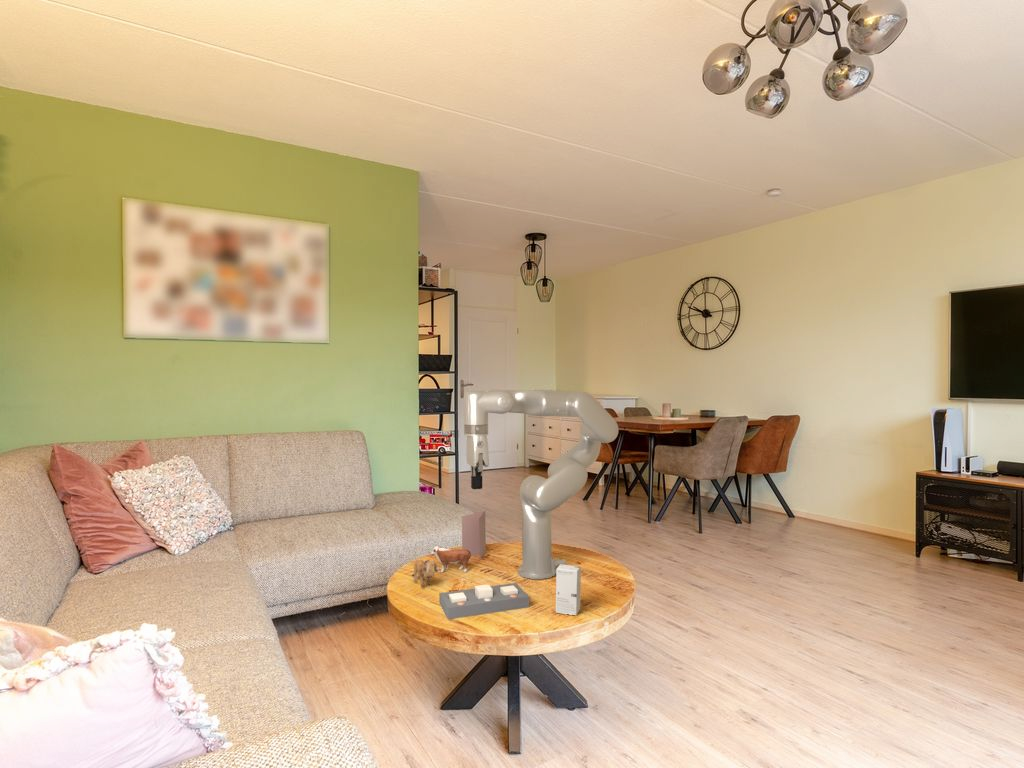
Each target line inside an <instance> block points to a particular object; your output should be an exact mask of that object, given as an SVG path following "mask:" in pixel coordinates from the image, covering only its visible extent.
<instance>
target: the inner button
mask: <svg viewBox="0 0 1024 768" xmlns="http://www.w3.org/2000/svg"><path fill="white" fill-rule="evenodd" d="M500 592H501V593H502V594H503V595H510V594H517V593H518V590H517V589H516V588H515V586H514V585H512V586H505V587H500Z"/></svg>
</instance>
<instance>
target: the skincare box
mask: <svg viewBox="0 0 1024 768" xmlns="http://www.w3.org/2000/svg"><path fill="white" fill-rule="evenodd" d="M555 576H556V577H555V578H556V579H555V613H556V614H561V615H567V614H569V615H568V616H572V615H576V616H578V614H579V613H580V611H581V593H582V592H581V591H582V589H581V587H582V586H581V583H582V582H581V579H582V566H577V565H572V564H566V565H564V564H560V565H559V566H557V567H556V575H555ZM579 610H580V611H579ZM578 612H579V613H578ZM577 613H578V614H577Z"/></svg>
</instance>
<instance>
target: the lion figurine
mask: <svg viewBox="0 0 1024 768" xmlns="http://www.w3.org/2000/svg"><path fill="white" fill-rule="evenodd" d="M440 568H441V566H440V565H438V564H437V563H436V562H435V559H433V558H431V559H430V558H429V559H427V560H425V561H424V560H422V559H418V560H415V562H414V567H413V570H414V571H413V572H414V573H413V574H412V575H411V577H413V581H412V583H413V582H416V583H418V580H417V577H418V578H419V580H420V581H419V582H420V588H422V589H421V590H425V584H424V583H425V580H426V581H427V582H426V586H427V587H428V586H429V587H428V588H431V587H432V586H433V585H432V584H431V579H433V576H435V573H438V572H439V570H440ZM417 575H418V576H417ZM430 586H431V587H430Z"/></svg>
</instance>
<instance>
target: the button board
mask: <svg viewBox="0 0 1024 768" xmlns="http://www.w3.org/2000/svg"><path fill="white" fill-rule="evenodd" d="M512 585H514V586H515V588H516V589H517V590H518V593H517V594H510V595H503V594H502V593H501V592H500V587H505V586H512ZM489 586H490V587H491V588H492V589H493V597H489V598H482V599H477V597H476V596H475V587H474V588H468V589H467V588H466V589H462V590H454V591H447V592H439V594H438V595H439V599H438V600H439V603H440V604H439V605H441V606H440V608H441V607H442V608H441V609H443V610H442V611H443V613H444V615H445V616H446V619H447V620H455V619H461V618H465V617H466V618H467V617H473V616H479V615H480V616H481V615H486V614H492V613H500V612H506V611H513V610H518V609H524V608H530V596H529V595H528V594H527V592H525V591H524V590H523V588H522V587H521V586H520V585H518V583H516V582H511V583H505V584H497V585H489ZM461 592H463V593H464V595H465V596H466V601H461V602H454V603H451V602H450V600H449V594H454V593H461Z"/></svg>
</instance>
